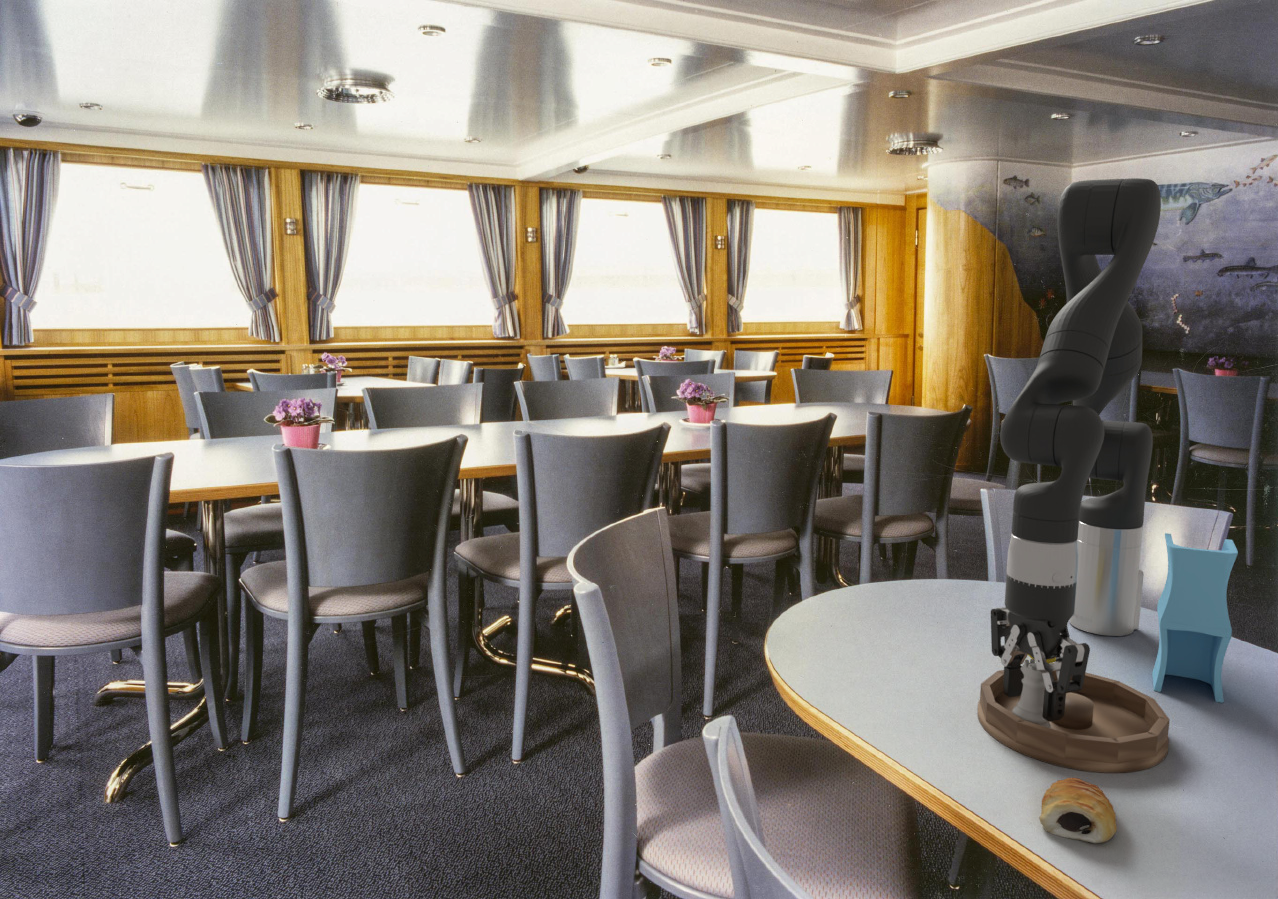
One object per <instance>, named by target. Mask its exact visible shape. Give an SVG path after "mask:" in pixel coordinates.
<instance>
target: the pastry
mask: <svg viewBox="0 0 1278 899" xmlns="http://www.w3.org/2000/svg"><path fill="white" fill-rule="evenodd" d="M1040 806H1041V813H1040V816H1039V818H1038V819H1039V822H1040V824H1041V825H1042V827H1043V829H1045V831H1046V832H1048V833H1051V834H1053V835H1055V836H1058V837H1061V838H1065V839H1071V840H1077V841H1078V840H1079V841H1083V842H1087V843H1091V844H1100V843H1102V844H1103V843H1106V842H1107V841H1110V840H1111V839H1112V838H1113V837H1114V836H1115V834H1116V833H1117V828H1118V827H1117V820H1116V816H1117V815H1116V812H1115V810H1114V806H1113V804H1112V803H1111V801H1110V800H1109V798H1108V797H1107V796H1106V794H1105V793H1104V791H1103V790H1102V789H1101V788H1100V787H1099V786H1097V785H1096V784H1093V783H1090V782H1088V781H1085V780H1082V779H1080V778H1078V777H1067V778H1065V779H1059V780H1057V781H1055V782H1053V783H1051V784H1050V786H1049V787H1048V789H1046V790H1045V792H1044V795H1043V796H1042V800H1041V805H1040Z"/></svg>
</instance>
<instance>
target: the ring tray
mask: <svg viewBox="0 0 1278 899" xmlns="http://www.w3.org/2000/svg"><path fill="white" fill-rule="evenodd" d="M1052 673H1053V677H1054V681H1056V680H1058V678H1057V674H1056V671H1055V670H1053V672H1052ZM1003 677H1004V669H1001V670H997V671H995V672H994V673H993V674H992V675H990V676H989V677H988V678H986V679H985V680H984V681H982V682H981V683H980V694H979V701H978V704H977V719H978V721H979V723H980V725H981V726H982V728H983V729H984V731H986V732H987V734H989V735H990V736H991V737H992V738H994V739H995V740H996V741H998V742H999V743H1001V744H1003V745H1004V746H1005V747H1008V748H1009V749H1011V750H1013V751H1015V752H1017V753H1020V754H1022V755H1024V756H1026V757H1029V758H1031V759H1034V760H1037V761H1040V762H1044V763H1047V764H1050V765H1054V766H1058V767H1062V768H1067V769H1071V770H1077V771H1083V772H1091V773H1102V774H1103V773H1105V774H1107V773H1108V774H1121V773H1125V774H1126V773H1133V772H1140V771H1144V770H1147V769H1150V768H1153V767H1156V766H1157V765H1159V764H1160V763H1162V762H1163V761H1164V760H1165V759H1166V758H1167V756H1168V753H1169V745H1170V738H1169V729H1170V721H1171V720H1170V718H1169V717H1168V715H1167V714H1166V713H1165V712H1164V710H1163V709H1162V707H1161V706H1160V705H1159V703H1158V702H1157V701H1156V699H1155V698H1153V697H1151V696H1149V695H1148V694H1144V693H1143V692H1141V691H1139V690H1137V689H1135V688H1133V687H1131V686H1130V685H1128V684H1126V683H1124V682H1121V680H1120V681H1119V680H1117V679H1116V680H1115V679H1112V678H1109V677H1105V676H1101V675H1098V674H1093V673H1089V672H1086V673H1085V677H1084V682H1083V687H1082V690H1081V691H1076V692H1070V693H1066V700H1065V713H1064V716H1063V717H1062V718H1061V719H1060V720H1056V721H1051V722H1049V723H1050V724H1051V727H1050V728H1047V727H1044V726H1041V725H1038V724H1034V723H1031V722H1028V721H1025V720H1022V719H1021V718H1019V717H1018V716H1016V715H1015V714H1013V713H1012V711H1013V708H1014V707H1015V706H1016V705H1017V702H1019V700H1020V698H1021V695H1020V696H1016V697H1008V696H1007V695H1005V694H1004V687H1003ZM1072 677H1073V676H1072ZM1072 677H1071V679H1070V680H1071V681H1072ZM1023 678H1024V677H1023ZM1045 690H1046V687H1045Z"/></svg>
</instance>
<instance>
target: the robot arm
mask: <svg viewBox="0 0 1278 899" xmlns="http://www.w3.org/2000/svg"><path fill="white" fill-rule="evenodd" d="M1161 197H1162V196H1161V192H1160V187H1159V185H1158V183H1156V181H1154V180H1153V179H1150V178H1148V179H1147V178H1135V177H1134V178H1115V179H1114V178H1110V179H1108V178H1107V179H1089V180H1088V179H1087V180H1079V181H1075V182H1072V183H1070V184H1069V185H1067V186H1066V187H1065V188H1064V190H1063V191H1062V193H1061V195H1060V198H1059V202H1058V207H1057V219H1056V221H1057V223H1056V224H1057V226H1056V227H1057V238H1058V245H1059V246H1058V247H1059V254H1060V259H1061V265H1062V271H1063V272H1062V273H1063V279H1064V282H1065V283H1064V284H1065V292H1066V304H1064V306H1063V307H1062V308H1061V309H1060V310H1059V311H1058V312H1057V314H1056V315H1055V317H1054V318H1053V320H1052V321H1051V323H1050V325H1049V326H1048V329H1047V331H1046V332H1047V333H1046V335H1045V338H1044V342H1043V345H1042V348H1041V352H1040V354H1039V358H1038V362H1037V365H1036V368H1035V370H1034V371H1033V373H1032V375H1031V376H1030V377H1029V379H1028V381H1027V382H1026V384H1025V386H1024V387H1023V388H1022V389H1021V392H1020V393H1019V394H1018V396H1016V398H1015V399H1014V401H1013V403H1012V404H1011V406H1010V407H1009V409H1008V410H1007V413H1005V416H1004V418H1003V421H1002V423H1001V426H1000V434H999V436H1000V438H999V439H1000V444H1001V448H1002V450H1003V452H1004V454H1005V455H1006V456H1007V457H1008V458H1009V459H1011V460H1012V461H1014V462H1018V463H1024V464H1033V465H1041V466H1051V467H1061V473H1060V475H1059V476H1058V478H1057V479H1056V480H1054V481H1047V482H1034V483H1026V484H1023V485H1021V486H1019V487H1018V488H1017V489H1016V490H1015V493H1014V495H1013V496H1014V497H1013V503H1012V521H1011V534H1010V542H1009V545H1008V549H1007V559H1006V560H1007V561H1006V562H1007V563H1006V576H1005V577H1006V578H1005V588H1004V589H1005V594H1004V606H1005V607H997V608H996V607H995V608H992V609H990V633H991V634H990V635H991V636H990V637H991V640H990V643H991V653H992V655H993V656H995V657H999V658H1000V663H1001V665H1002V666H1003V670H1004V677H1003V687H1004V694H1005V695H1007V696H1008V697H1016V696H1020V695H1021V693H1022V689H1023V683H1022V679H1023V677H1024V674H1023V672H1022V671H1021V669H1020V668H1021V667H1022V666H1023V665H1024V662H1025V660H1027V658H1028V656H1029V655H1030V656H1031V657H1032V658H1034V659H1035V663H1036V666H1037V669H1038V671H1039V672H1041V673H1042V675H1043V679H1044V683H1045V687H1046V690H1044V702H1043V718H1044V719H1045V720H1047V721H1049V722H1051V721H1056V720H1060V719H1061V718H1062V717H1063V716H1064V713H1065V700H1066V693H1070V692H1076V691H1081V690H1082V687H1083V682H1084V677H1085V673H1087V672H1086V671H1087V668H1088V664H1089V663H1088V662H1089V658H1090V651H1091V648H1090V645H1089V644H1088V643H1086V642H1082V643H1078V642H1076V641H1075V640H1073V639H1071V637H1070V633H1069V630H1068V628H1069V627H1068V622H1069V624H1070V625H1072V627H1074V628H1076V629H1078V630H1080V631H1084V632H1087V633H1092V634H1095V635H1101V636H1109V637H1111V636H1112V637H1116V636H1117V637H1121V636H1128V635H1131V634H1132V633H1133V632H1134V631H1135V630H1139V629H1140V619H1141V618H1140V616H1141V608H1142V599H1143V598H1142V596H1143V586H1144V577H1145V576H1144V571H1143V570H1141V569H1140V565H1141V563H1140V562H1141V551H1142V542H1143V541H1142V539H1143V528H1144V519H1145V518H1144V517H1145V506H1146V505H1145V504H1146V494H1147V487H1148V486H1147V485H1148V480H1149V472H1150V466H1151V461H1152V460H1151V459H1152V454H1153V447H1154V446H1153V444H1154V443H1153V439H1154V438H1153V433H1152V429H1151V427H1150V426H1149V425H1148V424H1147V423H1143V422H1135V421H1121V420H1119V421H1117V420H1106V419H1105V420H1104V419H1102V418H1101V416H1100V415H1101V413H1102V412H1103V410H1104V409H1105V408H1106V407H1107V406H1108V404H1110V403H1111V402H1112V400H1114V399H1115V398H1116V397H1117V396H1118V395H1119V394H1120V393H1121V392H1122V391H1123V390H1125V389H1126V387H1127V386H1129V384H1130V383H1131V382H1132V381H1133V380H1134V378H1135V377H1136V375H1137V374H1138V373H1139V371H1140V369H1141V366H1142V363H1143V327H1142V321H1141V320H1140V317H1139V316H1138V314H1137V312H1136V311H1135V308H1133V307H1132V305H1131V304H1130V303H1129V302H1128V300H1129V298H1130V297H1131V295H1132V293H1133V290H1134V288H1135V286H1136V283H1137V281H1138V279H1139V277H1140V274H1141V272H1142V270H1143V268H1144V265H1145V262H1146V261H1147V259H1148V256H1149V254H1150V251H1151V249H1152V247H1153V244H1154V241H1155V238H1156V236H1157V232H1158V231H1157V230H1158V228H1159V225H1160V224H1159V223H1160V217H1161V209H1162V208H1161V207H1162V200H1161V199H1162V198H1161ZM1100 255H1101V256H1113V257H1112V258H1111V260H1110V261H1109V262H1108V264H1107V265H1106V266H1105V268H1103V270H1102V269H1101V266H1100V265H1099V263H1098V258H1097V256H1100ZM1066 402H1067V403H1068V402H1072V405H1071V404H1070V405H1068V404H1063V403H1066ZM1089 479H1096V480H1097V479H1098V480H1107V481H1117V482H1123V486H1122V487H1121V488H1120V489H1118V490H1115V491H1113V492H1111V493H1109V494H1105V495H1101V496H1096V497H1092V498H1090V497H1089V498H1087V499H1085V500H1083V496H1084V492H1085V489H1086V487H1087V483H1088V480H1089ZM1002 638H1004V645H1003V644H1002ZM1028 654H1029V655H1028ZM1055 657H1056V662H1053V663H1050V664H1048V663H1047V662H1046V660H1048V659H1053V658H1055ZM1053 670H1055V671H1056V674H1057V678H1058V680H1056V681H1054V677H1053V673H1052V672H1053ZM1072 676H1073V677H1072ZM1071 677H1072V681H1071V680H1070V679H1071Z"/></svg>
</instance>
